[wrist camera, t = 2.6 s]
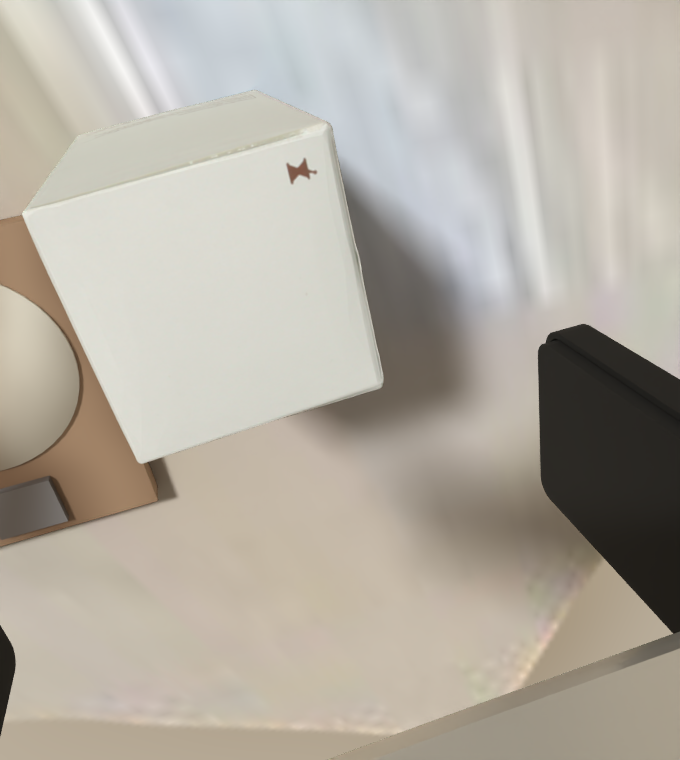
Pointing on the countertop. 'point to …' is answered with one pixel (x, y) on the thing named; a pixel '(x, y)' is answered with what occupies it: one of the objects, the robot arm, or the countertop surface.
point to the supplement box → (209, 269)
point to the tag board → (53, 410)
